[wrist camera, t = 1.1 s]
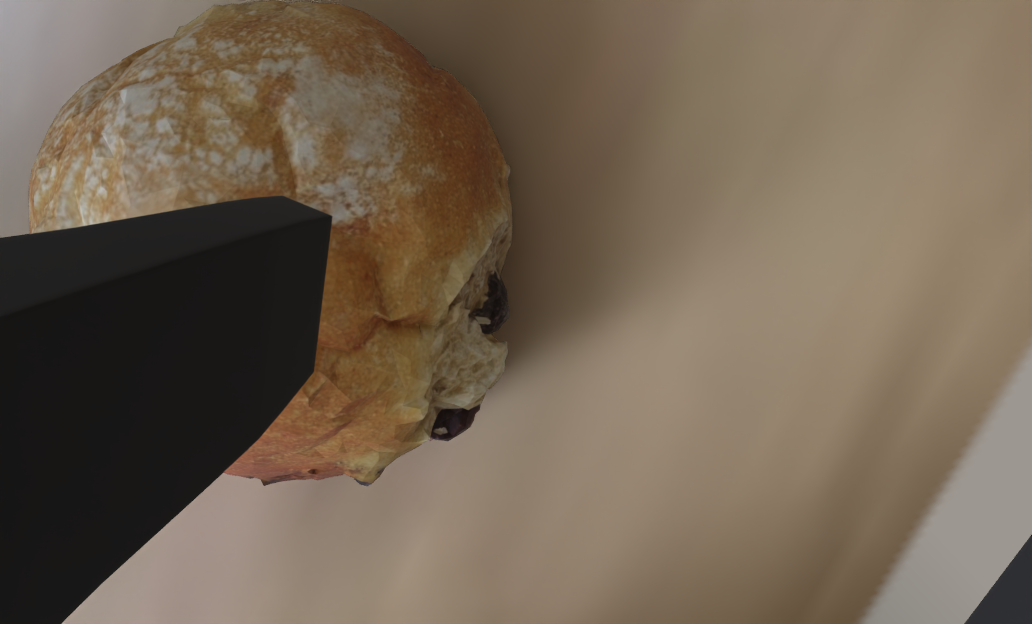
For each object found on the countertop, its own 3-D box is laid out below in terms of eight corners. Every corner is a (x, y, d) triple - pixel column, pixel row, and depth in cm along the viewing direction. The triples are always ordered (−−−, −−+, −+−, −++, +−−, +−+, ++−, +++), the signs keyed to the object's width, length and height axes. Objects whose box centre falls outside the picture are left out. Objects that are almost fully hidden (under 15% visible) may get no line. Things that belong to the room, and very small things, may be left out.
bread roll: (471, 28, 23) (259, -207, 16) (643, 369, 19) (451, 242, 12) (189, 233, 26) (-97, 104, 19) (282, 576, 21) (-48, 569, 15)
